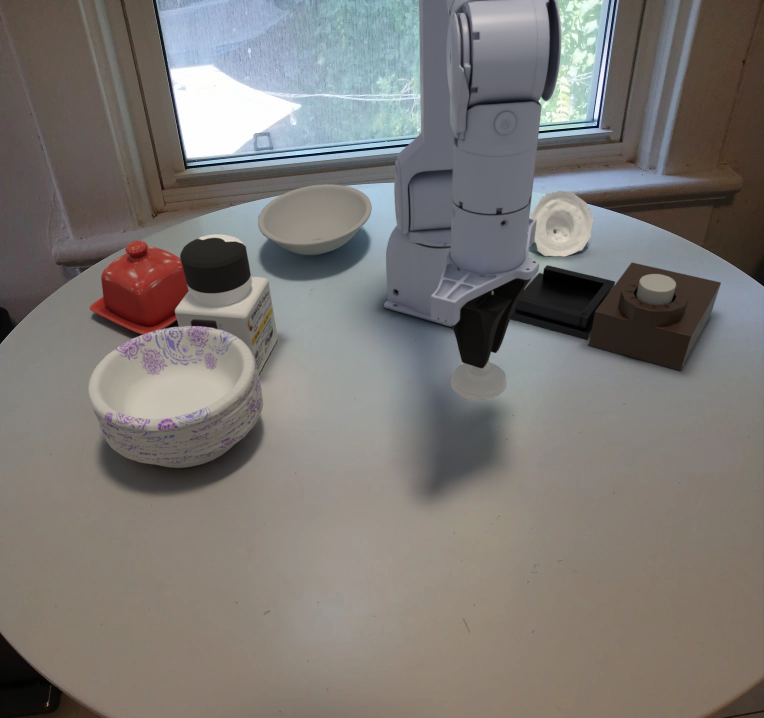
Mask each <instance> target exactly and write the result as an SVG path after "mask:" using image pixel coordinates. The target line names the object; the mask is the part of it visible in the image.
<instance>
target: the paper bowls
mask: <svg viewBox="0 0 764 718" xmlns="http://www.w3.org/2000/svg"><path fill="white" fill-rule="evenodd" d="M87 397H88V401H89V404H90V406H91V408H92V410H93V413H94V415H95V417H96V419H97V421H98V423H99V427H100V430H101V432H102V435H103V436H104V437H103V438H104V439H105V441H106V443H107V444H108V445H109V447H110V448H111V450H114V451H115V452H116V453H118V454H119V455H120V456H122V457H124V458H126V459H130V461H131V460H132V461H136V462H137V463H141V464H148V465H157V466H160V467H165V468H175V469H183V468H184V469H185V468H191V467H197V466H201V465H204V464H206V463H209V462H212V461H214V460H217V458H219V457H221V456H223V455H224V454H225V453H227V452H228V451H230V450H231V448H232V447H233V446H234V445H235V444H237V443H238V442H240V441H241V440H243V438H245V437H246V436H247V434H249V432H250V431H251V430H252V429H253V428H254V427H255V425H256V423H257V422H258V421H259V419H260V416H261V415H262V411H263V408H264V399H263V391H262V385H261V381H260V376H259V374H258V372H257V369H256V362H255V359H254V356H253V354H252V352H251V350H250V349H249V347H248V346H247V345H246V344H245V343H244V342H243V341H242V340H241V339H239V338H238V337H236V336H234V335H232V334H231V333H228V332H226V331H223V330H219V329H215V328H210V327H202V326H182V327H179V326H173V327H166V328H164V329H162V330H157V331H153V332H150V333H147V334H144V335H142V334H140V335H138V336H135V337H134V338H131V339H129V340H127V341H125V342H123V343H121V344H120V345H119V346H116V348H114V349H113V350H111V351H109V353H107V354H106V355H105V356H104V357H103V358H102V359H101V360H100V361H99V363H98V364H97V365H96V367H94V369H93V371H92V372H91V375H90V377H89V380H88V384H87Z"/></svg>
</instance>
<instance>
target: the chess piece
mask: <svg viewBox="0 0 764 718" xmlns="http://www.w3.org/2000/svg"><path fill="white" fill-rule="evenodd" d="M493 293H494V291H493V290H492V295H493ZM507 384H508V382H507V374H506V372H505V370H503V369H502V367H500V366H499V365H497V364H496V363H492V362H490V359H489V360H488V362H487V364H486V365H485V367H484V368H478V367H475V366H472V365H469V364H465V363H462V364H460V365H458V366H456V368H455V369H454V370H453V372H452V375H451V379H450V386H451V388H452V389H453V391H454V392H455V393H456V394H457V395H458V396H461V397H462V398H465V399H468V400H474V401H488V400H491V399H495V398H497V397H499V396H500V395H502V394H503V393H504V392H505V391H506V389H507Z"/></svg>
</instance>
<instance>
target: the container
mask: <svg viewBox="0 0 764 718" xmlns="http://www.w3.org/2000/svg"><path fill="white" fill-rule="evenodd" d="M179 258H181V262H182V266H183V270H184V274H185V278H186V282H187V286H188V290H189V291H188V293H187V294H186V295H185V297H184V298H183V299H182V301H181V302H180V303H179V305H178V306H177V307H176V309H175V314H176V318H177V320H176V321H177V324H178V327H182V326H202V327H210V328H215V329H219V330H223V331H226V332H228V333H231V334H232V335H234V336H236V337H238V338H239V339H241V340H242V341H243V342H244V343H245V344H246V345H247V346H248V347H249V349H250V350H251V352H252V354H253V356H254V359H255V362H256V369H257V372H258V375H260V372H261V370H263V367H264V365H265V364H266V361H267V360H268V358H269V356H270V354H271V352H272V350H273V348H274V347H275V345H276V343H277V341H278V339H279V337H278V332H277V331H278V330H277V324H276V319H275V312H274V306H273V300H272V295H271V288H270V281H269V279H268V278H267V277H263V276H252V272H251V268H250V262H249V257H248V251H247V246H246V244H245V242H243V241H242V240H240V239H239V238H238V237H235V236H233V235H228V234H218V233H217V234H216V233H215V234H207V235H203V236H200V237H197V238H195V239H194V240H191V241H190V242H188V243H187V244H186V245H184V247H183V248H182V250H181V252H180V254H179Z"/></svg>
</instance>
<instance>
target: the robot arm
mask: <svg viewBox="0 0 764 718" xmlns="http://www.w3.org/2000/svg"><path fill="white" fill-rule="evenodd" d="M559 7H560V6H559V2H558V0H418V20H419V21H418V24H419V25H418V26H419V28H418V29H419V31H418V32H419V90H420V91H419V95H420V99H419V102H420V103H419V104H420V133H419V134H418V135H417V137H415V138H414V139H413V140H412V141H411V142H409V144H407V145H406V146H405V147H404V148H403V149H402V150H401V151H400V152H399V153H398V155H397V156H396V160H395V161H394V168H395V169H394V171H395V173H394V174H395V176H394V181H393V182H394V183H393V184H394V185H393V187H394V188H393V191H394V193H393V194H394V196H393V197H394V210H395V211H394V212H395V222H396V225H395V227H394V228H393V230H392V231H391V233H390V236H389V237H388V241H387V244H386V245H387V246H386V251H385V268H386V270H385V271H386V272H385V273H386V297H387V300H386V301H385V302H384V304H383V305H384V308H385V309H388V310H391V311H395V312H398V313H401V314H404V315H409V316H412V317H416V318H419V319H423V320H426V321H430V322H432V323H433V322H434V323H437V324H439V325H444V326H447V327H451V328H452V330H453V334H454V337H455V340H456V344H457V348H458V352H459V356H460V360H461V363H462V364H464V363H465V364H469V365H472V366H475V367H478V368H484V367H485V365H486V364H487V362H488V360H489V361H490V357H491V353H494V354H497V353H498V352H499V350H500V348H501V346H502V345H503V341H504V339H505V336H506V333H507V330H508V327H509V324H510V321H511V319H510V318H511V315H512V313H513V310H514V308H515V306H516V304H517V302H518V300H519V298H520V296H521V294H522V292H523V291H524V290H525V288H526V287H527V286H528V285H529V284H530V283H531V281H532V280H533V278H534V277H535V276H536V274H537V273H539V269H540V262H539V260H537V259H534V258H531V257H529V252H530V247H531V246H532V245H533V244H534V243H535V241H534V240H535V232H536V223H537V220H536V219H531V207H532V198H533V190H534V189H533V188H534V180H535V179H534V178H535V171H536V161H537V153H538V144H539V143H538V142H539V135H540V134H539V133H540V125H541V116H542V108H543V107H542V104H541V102H540V100H541V99H542V100H543V101H544V102H548V101H549V100H551V98H552V97H553V94H554V93H555V92H554V91H555V89H556V86H557V81H558V77H559V72H560V71H559V70H560V65H561V55H562V21H561V13H560V8H559ZM492 290H493V291H494V293H493V295H492Z"/></svg>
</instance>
